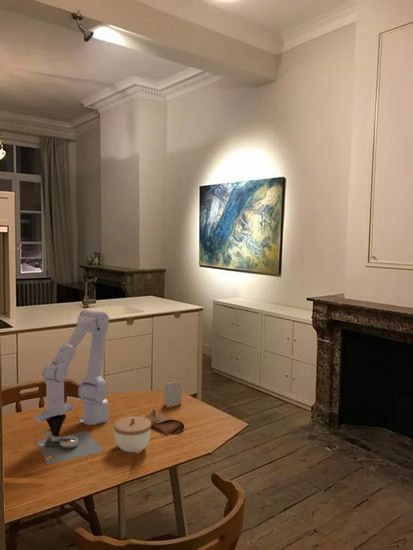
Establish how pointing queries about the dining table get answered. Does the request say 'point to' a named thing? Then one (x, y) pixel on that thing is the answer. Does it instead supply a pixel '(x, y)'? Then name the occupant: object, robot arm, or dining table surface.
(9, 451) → the dining table surface
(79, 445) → the grey square mat
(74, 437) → the grey piece
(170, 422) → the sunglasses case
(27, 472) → the dining table surface
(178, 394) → the blue-gray rectangular block
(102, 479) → the dining table surface
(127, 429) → the lidded bowl
